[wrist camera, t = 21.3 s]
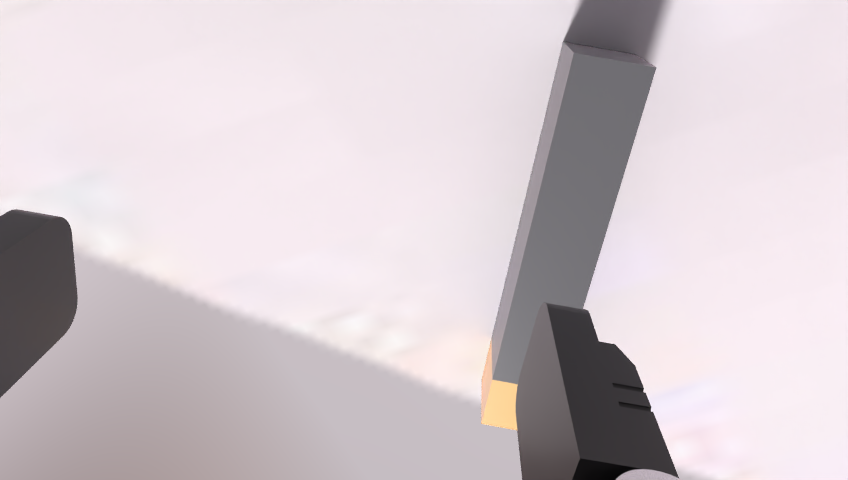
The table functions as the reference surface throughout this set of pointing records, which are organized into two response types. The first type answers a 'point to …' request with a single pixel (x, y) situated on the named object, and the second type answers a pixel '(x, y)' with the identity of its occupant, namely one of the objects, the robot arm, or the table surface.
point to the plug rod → (565, 205)
